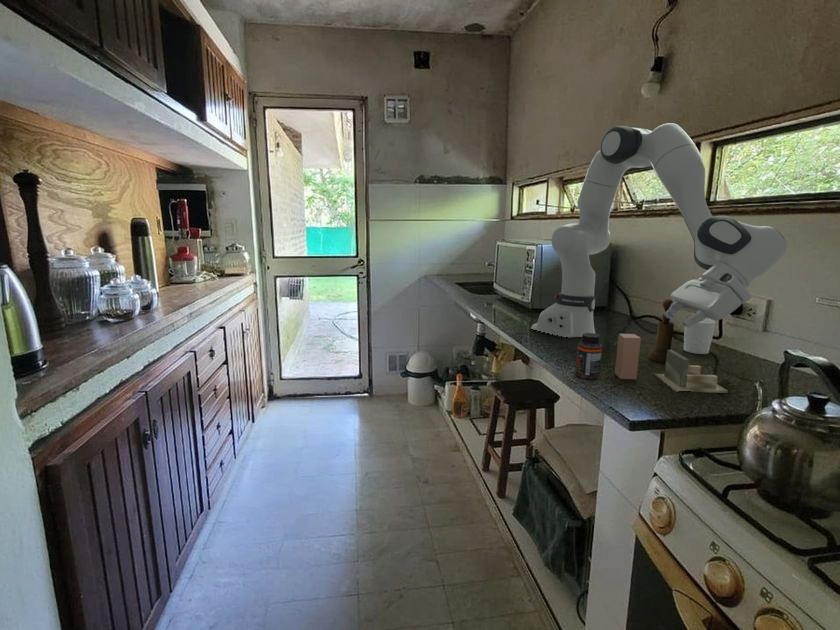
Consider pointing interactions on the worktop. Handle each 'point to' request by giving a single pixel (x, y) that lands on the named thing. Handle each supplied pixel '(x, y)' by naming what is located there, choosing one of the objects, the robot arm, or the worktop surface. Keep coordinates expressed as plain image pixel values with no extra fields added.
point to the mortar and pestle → (663, 336)
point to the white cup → (699, 337)
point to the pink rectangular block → (627, 356)
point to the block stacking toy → (687, 376)
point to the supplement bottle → (589, 356)
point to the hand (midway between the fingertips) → (675, 320)
